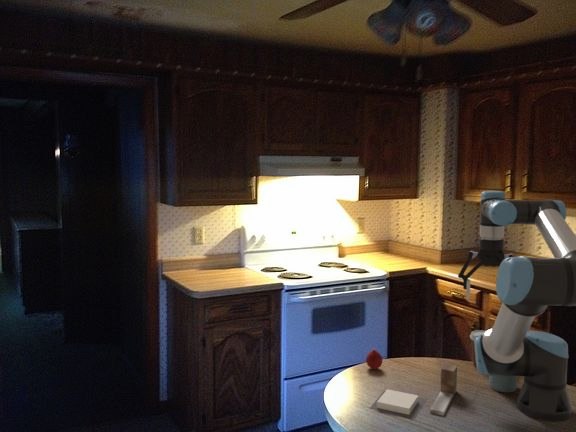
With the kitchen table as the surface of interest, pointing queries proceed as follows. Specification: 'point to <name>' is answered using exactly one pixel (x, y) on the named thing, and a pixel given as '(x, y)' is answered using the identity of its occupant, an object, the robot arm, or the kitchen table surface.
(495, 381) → the grey-green hollow open cylinder
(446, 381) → the tan l-shaped piece
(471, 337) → the disposable coffee cup
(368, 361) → the onion
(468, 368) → the kitchen table surface
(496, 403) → the kitchen table surface
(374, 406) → the mat
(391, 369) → the kitchen table surface
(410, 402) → the tile
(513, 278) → the robot arm
